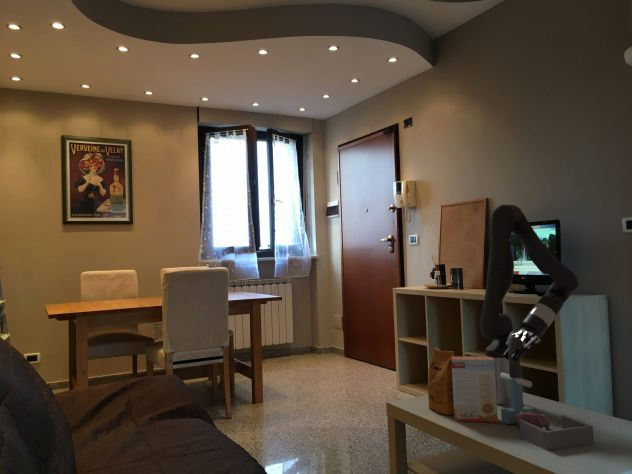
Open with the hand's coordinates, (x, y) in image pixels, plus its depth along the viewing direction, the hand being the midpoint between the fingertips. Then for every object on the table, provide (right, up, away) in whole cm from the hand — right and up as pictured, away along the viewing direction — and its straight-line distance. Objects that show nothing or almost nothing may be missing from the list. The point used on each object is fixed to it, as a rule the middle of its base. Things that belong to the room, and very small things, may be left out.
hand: (509, 358), depth 165 cm
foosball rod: (+2, -21, -1) cm, 21 cm away
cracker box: (-10, -22, +4) cm, 24 cm away
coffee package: (-17, -23, +15) cm, 32 cm away
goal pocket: (+7, -20, -18) cm, 27 cm away
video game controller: (+5, -21, -7) cm, 23 cm away
